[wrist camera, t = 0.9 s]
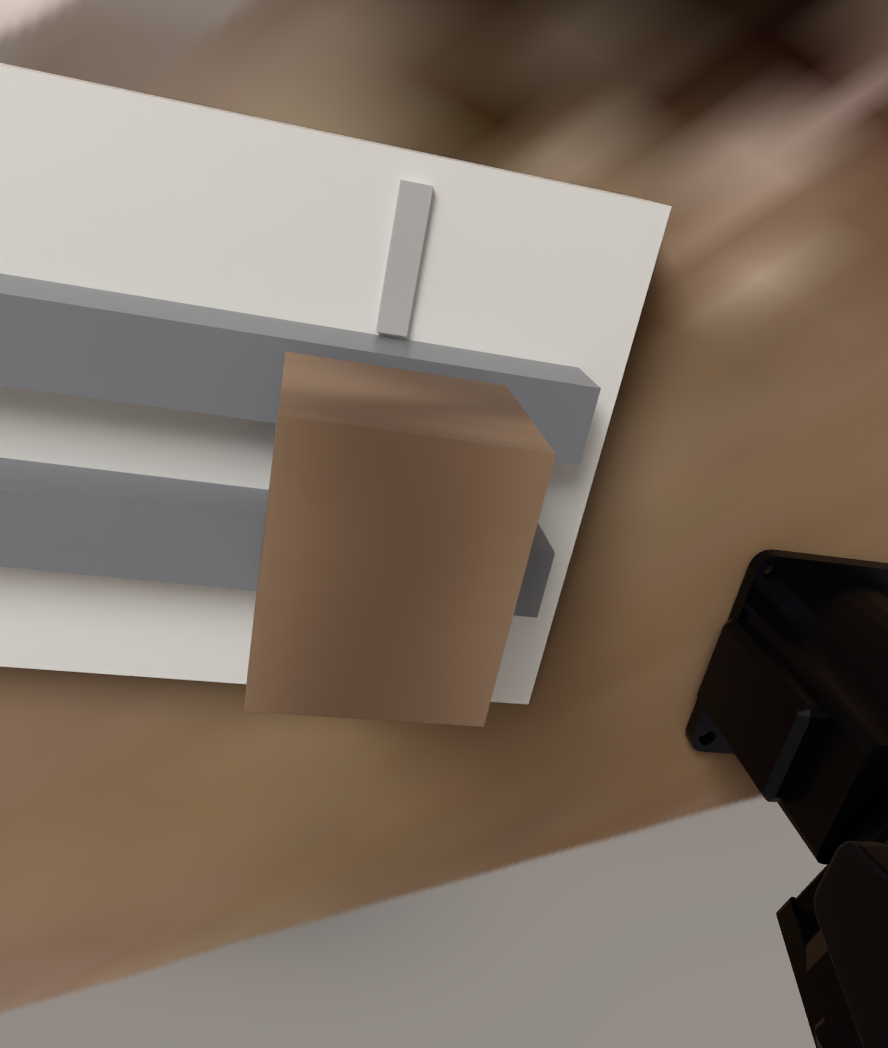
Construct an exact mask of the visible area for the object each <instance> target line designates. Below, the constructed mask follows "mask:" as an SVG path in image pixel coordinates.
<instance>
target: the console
mask: <svg viewBox="0 0 888 1048" xmlns="http://www.w3.org/2000/svg"><path fill="white" fill-rule="evenodd" d="M671 207H672V206H668V205H664V204H660V203H656V202H652V201H648V200H644V199H640V198H636V197H632V196H627V195H622V194H618V193H613V192H608V191H603V190H599V189H594V188H589V187H585V186H580V185H575V184H570V183H566V182H561V181H556V180H551V179H547V178H542V177H537V176H533V175H528V174H523V173H518V172H514V171H509V170H504V169H500V168H495V167H490V166H485V165H481V164H476V163H471V162H466V161H462V160H457V159H452V158H448V157H443V156H438V155H433V154H429V153H424V152H419V151H414V150H410V149H405V148H400V147H396V146H391V145H386V144H381V143H377V142H372V141H367V140H362V139H358V138H353V137H348V136H344V135H339V134H334V133H329V132H325V131H320V130H315V129H311V128H306V127H301V126H296V125H292V124H287V123H282V122H277V121H273V120H268V119H263V118H259V117H254V116H249V115H244V114H240V113H235V112H230V111H225V110H221V109H216V108H211V107H207V106H202V105H197V104H192V103H188V102H183V101H178V100H173V99H169V98H164V97H159V96H155V95H150V94H145V93H140V92H136V91H131V90H126V89H121V88H117V87H112V86H107V85H102V84H98V83H93V82H88V81H84V80H79V79H74V78H70V77H65V76H60V75H55V74H50V73H46V72H41V71H36V70H31V69H27V68H22V67H18V66H13V65H8V64H3V63H0V666H2V667H16V668H30V669H44V670H57V671H71V672H85V673H99V674H113V675H127V676H141V677H154V678H168V679H182V680H196V681H210V682H224V683H238V684H246V683H247V673H248V664H249V655H250V646H251V637H252V627H253V618H254V609H255V600H256V591H257V583H258V575H259V566H260V558H261V549H262V541H263V533H264V524H265V516H266V508H267V499H268V491H269V482H270V474H271V466H272V457H273V449H274V441H275V432H276V424H277V415H278V407H279V399H280V390H281V382H282V374H283V365H284V357H285V351H288V352H294V353H301V354H307V355H314V356H320V357H327V358H333V359H340V360H346V361H352V362H359V363H365V364H372V365H378V366H385V367H391V368H397V369H404V370H410V371H417V372H423V373H430V374H436V375H443V376H449V377H455V378H462V379H468V380H475V381H481V382H488V383H494V384H501V385H506V386H507V387H508V389H509V390H510V391H511V393H512V394H513V395H514V397H515V398H516V400H517V401H518V402H519V404H520V405H521V406H522V408H523V409H524V411H525V412H526V413H527V415H528V416H529V417H530V419H531V420H532V421H533V423H534V424H535V426H536V427H537V428H538V430H539V431H540V432H541V434H542V435H543V436H544V438H545V439H546V441H547V442H548V443H549V445H550V446H551V447H552V449H553V450H554V451H555V453H556V456H555V460H554V464H553V467H552V471H551V475H550V479H549V482H548V486H547V490H546V494H545V498H544V501H543V505H542V509H541V513H540V516H539V520H538V524H537V528H536V532H535V535H534V539H533V543H532V547H531V550H530V554H529V558H528V562H527V566H526V569H525V573H524V577H523V581H522V584H521V588H520V592H519V596H518V600H517V603H516V607H515V611H514V615H513V618H512V622H511V626H510V630H509V634H508V637H507V641H506V645H505V649H504V652H503V656H502V660H501V664H500V668H499V671H498V675H497V679H496V683H495V686H494V690H493V694H492V698H491V702H501V703H515V704H529V701H530V697H531V694H532V690H533V687H534V683H535V680H536V676H537V673H538V669H539V666H540V662H541V659H542V655H543V652H544V648H545V645H546V641H547V638H548V635H549V631H550V628H551V624H552V621H553V617H554V614H555V610H556V607H557V603H558V600H559V596H560V593H561V589H562V586H563V582H564V579H565V575H566V572H567V568H568V565H569V561H570V558H571V555H572V551H573V548H574V544H575V541H576V537H577V534H578V530H579V527H580V523H581V520H582V516H583V513H584V509H585V506H586V502H587V499H588V495H589V492H590V488H591V485H592V481H593V478H594V474H595V471H596V468H597V464H598V461H599V457H600V454H601V450H602V447H603V443H604V440H605V436H606V433H607V429H608V426H609V422H610V419H611V415H612V412H613V408H614V405H615V401H616V398H617V394H618V391H619V388H620V384H621V381H622V377H623V374H624V370H625V367H626V363H627V360H628V356H629V353H630V349H631V346H632V342H633V339H634V335H635V332H636V328H637V325H638V321H639V318H640V314H641V311H642V308H643V304H644V301H645V297H646V294H647V290H648V287H649V283H650V280H651V276H652V273H653V269H654V266H655V262H656V259H657V255H658V252H659V248H660V245H661V241H662V238H663V234H664V231H665V227H666V224H667V221H668V217H669V214H670V210H671Z"/></svg>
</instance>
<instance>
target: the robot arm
mask: <svg viewBox="0 0 888 1048" xmlns="http://www.w3.org/2000/svg"><path fill="white" fill-rule="evenodd" d="M771 565H775V567H774V569H773V570H772V571H771V572H769V573H768V574H764V573H765V571H766V569H767V568H768V567H770V566H771ZM697 698H698V699H697V701H696V704H695V707H694V709H693V712H692V714H691V717H690V719H689V722H688V725H687V727H686V733H685V734H686V736H687V739H688V740H689V742H690V744H691V745H692V747H693V748H694V749H696V750H698V751H702V752H718V753H734V754H735V755H736V756H737V758H738V759H739V761H740V762H741V764H742V765H743V767H744V768H745V770H746V771H747V773H748V774H749V776H750V777H751V779H752V780H753V782H754V783H755V785H756V786H757V788H758V789H759V791H760V792H761V794H762V795H763V797H764V798H765V799H766V800H767V801H769V802H778V804H779V805H780V807H781V808H782V810H783V811H784V813H785V814H786V816H787V817H788V819H789V820H790V821H791V823H792V824H793V826H794V827H795V829H796V830H797V832H798V833H799V835H800V836H801V838H802V839H803V840H804V842H805V843H806V845H807V846H808V848H809V849H810V851H811V852H812V853H813V855H814V856H815V858H816V859H817V861H818V862H819V863H821V864H828V865H827V866H826V867H825V868H824V869H823V870H822V871H821V872H820V873H819V874H818V875H817V876H816V878H814V880H813V881H812V882H811V883H810V884H809V885H808V886H807V887H806V888H805V889H804V890H803V891H802V892H801V893H800V895H799V896H798V897H797V898H795V897H791V898H790V899H789V900H788V901H787V902H786V903H785V904H784V905H783V906H782V907H781V908H780V909H779V910H778V911H777V913H776V914H777V919H778V922H779V925H780V928H781V932H782V935H783V939H784V942H785V945H786V948H787V952H788V955H789V959H790V962H791V965H792V968H793V972H794V975H795V979H796V982H797V985H798V988H799V992H800V995H801V998H802V1001H803V1005H804V1008H805V1012H806V1015H807V1018H808V1021H809V1025H810V1028H811V1032H812V1035H813V1038H814V1041H815V1045H816V1048H888V563H880V562H872V561H864V560H855V559H847V558H839V557H831V556H822V555H814V554H806V553H797V552H789V551H781V550H765V551H762V552H760V553H758V554H757V555H756V556H755V557H754V558H753V559H752V561H751V562H750V564H749V567H748V569H747V572H746V574H745V577H744V579H743V582H742V585H741V587H740V590H739V592H738V595H737V598H736V600H735V603H734V605H733V608H732V611H731V613H730V616H729V618H728V621H727V623H726V624H725V625H724V626H723V629H722V631H721V634H720V637H719V639H718V642H717V644H716V647H715V650H714V652H713V655H712V657H711V660H710V663H709V665H708V668H707V670H706V673H705V676H704V678H703V681H702V683H701V686H700V689H699V691H698V694H697ZM706 731H708V733H706V734H705V735H703V736H701V734H702V733H704V732H706Z"/></svg>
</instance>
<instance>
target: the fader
mask: <svg viewBox="0 0 888 1048" xmlns="http://www.w3.org/2000/svg"><path fill="white" fill-rule="evenodd" d="M555 456H556V453H555V451H554V450H553V449H552V447H551V446H550V445H549V443H548V442H547V441H546V439H545V438H544V436H543V435H542V434H541V432H540V431H539V430H538V428H537V427H536V426H535V424H534V423H533V421H532V420H531V419H530V417H529V416H528V415H527V413H526V412H525V411H524V409H523V408H522V406H521V405H520V404H519V402H518V401H517V400H516V398H515V397H514V395H513V394H512V393H511V391H510V390H509V389H508V387H507V386H506V385H501V384H494V383H488V382H481V381H475V380H468V379H462V378H455V377H449V376H443V375H436V374H430V373H423V372H417V371H410V370H404V369H397V368H391V367H385V366H378V365H372V364H365V363H359V362H352V361H346V360H340V359H333V358H327V357H320V356H314V355H307V354H301V353H294V352H288V351H285V357H284V365H283V374H282V382H281V390H280V399H279V407H278V415H277V424H276V432H275V441H274V449H273V457H272V466H271V474H270V482H269V491H268V499H267V508H266V516H265V524H264V533H263V541H262V549H261V558H260V566H259V575H258V583H257V591H256V600H255V609H254V618H253V627H252V637H251V646H250V655H249V664H248V673H247V683H246V692H245V701H244V710H243V711H248V712H263V713H278V714H294V715H309V716H324V717H339V718H355V719H370V720H385V721H400V722H416V723H431V724H446V725H462V726H477V727H484V724H485V720H486V717H487V713H488V709H489V705H490V702H491V698H492V694H493V690H494V686H495V683H496V679H497V675H498V671H499V668H500V664H501V660H502V656H503V652H504V649H505V645H506V641H507V637H508V634H509V630H510V626H511V622H512V618H513V615H514V611H515V607H516V603H517V600H518V596H519V592H520V588H521V584H522V581H523V577H524V573H525V569H526V566H527V562H528V558H529V554H530V550H531V547H532V543H533V539H534V535H535V532H536V528H537V524H538V520H539V516H540V513H541V509H542V505H543V501H544V498H545V494H546V490H547V486H548V482H549V479H550V475H551V471H552V467H553V464H554V460H555Z"/></svg>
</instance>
